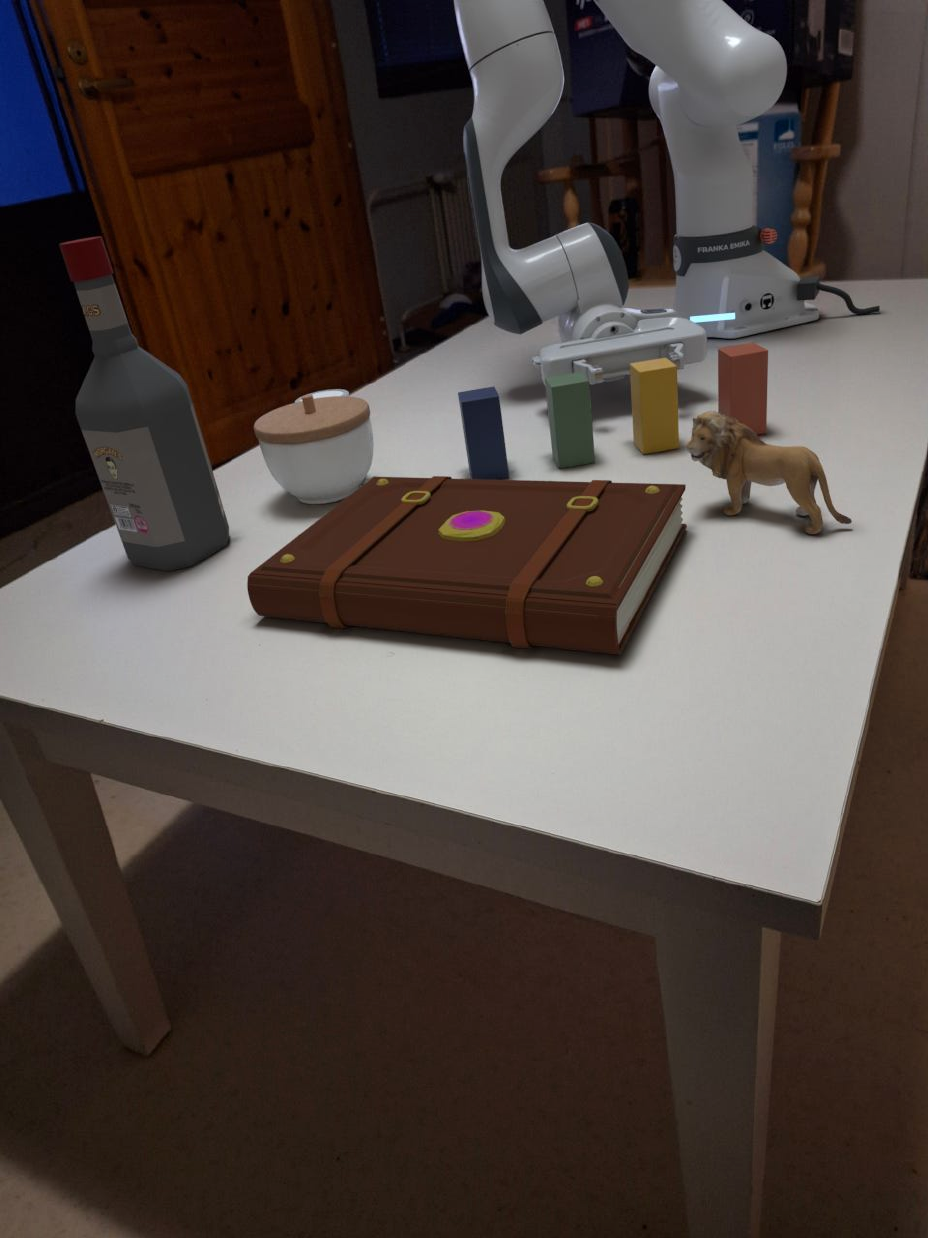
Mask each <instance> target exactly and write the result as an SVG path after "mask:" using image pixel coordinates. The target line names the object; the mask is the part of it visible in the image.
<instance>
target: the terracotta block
mask: <svg viewBox="0 0 928 1238" xmlns="http://www.w3.org/2000/svg"><path fill="white" fill-rule="evenodd" d="M768 372H769V350H768V349H767V348H765V347H764V346H761V345H759V344H758V343H756V342H748V343H742V344H736V345H730V346H724V347H718V348H717V384H718V385H717V407H718V409H717V410H718V411H717V413H724V415H728V416H730V417H733V418H735V419H737V420H738V422H739V423H741V424H745V425H746V426H747V427H749V428H750V429H752V430H753V431H754V432H755V433H756V434H757V436H758V435H763V434H764V435H765V434H767V425H768V424H767V420H768V417H767V416H768V382H769V381H768V380H769V379H768V377H769V375H768V374H769V373H768Z"/></svg>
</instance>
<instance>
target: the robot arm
mask: <svg viewBox="0 0 928 1238" xmlns="http://www.w3.org/2000/svg"><path fill="white" fill-rule="evenodd" d="M593 2H594V3H595V4H596V6H597V7H598V8H599V9H600V10H601V12H602V14H603V15H604V16H605V17H606V19H607V20H608V21H609V23H610V24H611V25H612V27H613V28H614V29H615V31H617V33H618V34H619V36H620V37H621V38H622V39H623V41H624V42H625V43H626V44H627V46H628V47H629V48H630V49H631V50H633V51H634V52H636V53H637V54H639V55H641V56H643V57H644V58H646V59H647V60H649V61H650V62H651V63H652V64H654V65H655V67H654V68H653V71H652V73H651V74H650V75H651V76H650V77H649V83H648V99H649V102H650V105H651V109H652V110H653V111H654V113H655V114H656V116H657V118H658V119H659V121H660V123H661V126H662V130H663V134H664V138H665V142H666V145H667V149H668V154H669V158H670V163H671V167H672V172H673V181H674V195H675V223H676V224H675V225H676V234H675V235H674V236H673V247H672V248H673V249H672V257H673V260H672V261H673V269H674V274H675V288H674V289H675V290H674V299H673V307H672V308H653V309H651V308H650V309H635V308H630V307H623V306H625V303H626V300H627V297H628V293H629V289H630V285H629V283H630V282H629V275H628V270H627V265H626V262H625V259H624V256H623V253H622V251H621V249H620V246H619V244H618V243H617V241H616V240H615V238H614V237H613V236H612V235H611V234H610V233H609V232H608V231H607V230H606V229H604V228H602V227H601V226H600V225H598V224H595V223H593V222H589V221H587V222H585V223H582V224H579V225H577V226H575V227H571V228H569V229H566V230H564V231H561V232H558V233H556V234H554V235H553V236H551V237H548V238H546V239H543V240H540V241H538V242H535V243H533V244H530V245H528V246H526V247H523V248H519V249H514V248H512V247H511V246H510V243H509V242H510V241H509V237H508V236H509V235H508V230H507V229H508V228H507V224H506V217H505V210H504V204H503V203H504V202H503V196H502V191H501V180H502V175H503V173H504V170H505V168H506V166H507V164H508V163H509V161H510V160H511V158H513V156H514V155H515V154H516V153H517V152H518V151H519V150H520V149H521V148H522V147H523V146H524V145H525V144H526V143H528V142H529V140H531V138H532V137H533V136H534V135H536V133H537V132H538V131H539V130H541V128H542V127H543V126H544V125H545V124H547V122H548V120H550V118H551V116H552V115H553V114H554V112H555V110H556V108H557V106H558V104H559V102H560V100H561V97H562V94H563V90H564V84H565V75H564V68H563V61H562V56H561V52H560V49H559V45H558V44H559V43H558V40H557V37H556V34H555V31H554V28H553V24H552V21H551V18H550V15H549V12H548V9H547V7H546V4H545V2H544V0H453V5H454V6H453V7H454V12H455V13H454V14H455V18H456V24H457V29H458V33H459V38H460V43H461V46H462V51H463V54H464V55H463V56H464V59H465V62H466V65H467V68H468V73H469V75H470V78H471V82H472V89H473V108H472V114H471V117H470V118H469V119H468V121H467V122H466V123H465V125H464V126H463V132H462V133H463V134H462V141H463V142H462V147H463V157H464V165H465V172H466V179H467V180H466V182H467V187H468V193H469V199H470V206H471V210H472V211H471V212H472V218H473V224H474V229H475V236H476V242H477V247H478V252H479V258H480V266H481V291H482V292H481V293H482V300H483V304H484V307H485V310H486V313H487V315H488V317H489V318H490V320H491V321H492V323H493V325H494V326H495V327H497V328H499V329H500V330H503V331H505V332H508V333H511V334H515V335H523V334H525V333H527V332H528V331H531V330H533V329H534V328H537V327H539V326H541V325H543V323H545V322H548V321H550V320H553V319H554V318H557V317H558V318H557V319H558V320H557V328H558V334H559V338H560V340H561V342H559V343H554V344H549V345H545V346H543V347H542V348H541V349H540V351H539V355H535V356H533V357H532V359H531V363H532V365H533V367H534V368H536V369H540V372H541V381H542V383H543V385H544V386H545V387H546V385H545V378H547V377H553V376H559V375H565V374H571V373H576V372H582V374H583V375H584V376H585V377H586V378H587V379H588V380H589V385H591V386H592V385H597V384H603V383H604V382H605V383H611V382H616V381H621V380H622V379H624V378H627V377H628V376H630V363H636V362H642V361H648V360H654V359H660V358H667V359H668V360H670V361H671V362H672V363H674V364H675V365H676V366H677V371H678V370H683V369H684V367H685V365H691V364H696V363H697V364H698V363H701V362H703V361H705V359H707V357H708V338H719V339H720V338H721V339H738V338H742V337H743V338H744V337H747V336H751V335H756V334H760V333H765V332H769V331H774V330H777V329H782V328H783V329H784V328H788V327H791V326H792V327H793V326H795V325H800V324H805V323H808V322H813V321H817V320H819V318H820V310H819V308H818V307H817V306H815V305H813V304H812V303H809V302H806V301H815V300H816V298H817V296H818V295H819V294H820V291H822V292H825V293H828V294H829V293H830V294H833V295H835V296H838V297H840V298H841V299H843V301H844V302H845V305H846V308H847V309H848V311H849V312H851V314H854V315H859V316H865V315H870V314H873V313H879V312H880V310H881V309H880V307H881V306H880V305H875V306H871V307H866V308H858V307H856V306H855V304H854V303H853V300H852V298H851V296H850V295H849V294H848V292H846V291H844V290H842V289H841V288H838V287H835V286H831V285H827V284H823V283H821V275H809V276H807V275H805V276H802V277H801V278H800V275H799V274H798V273H796V271H795V270H793V269H792V268H790V267H789V266H787V265H786V264H784V263H783V262H782V261H780V260H779V259H778V258H776V257H775V256H773V255H772V254H771V253H769V252H767V251H766V250H765V244H769V245H770V244H773V243H775V242H776V240H777V239H778V231H776V229H774V228H770V227H766V228H761V227H758V226H757V225H755V224H754V168H753V165H752V163H751V161H750V159H749V158H748V157H747V155H746V154H745V151H744V150H743V147H742V144H741V141H740V136H739V132H738V127H737V126H738V125H742V124H744V123H747V122H749V121H751V120H753V119H755V118H757V117H759V116H761V115H763V114H764V113H766V112H768V111H769V110H770V109H771V108H773V106H774V105H775V104H776V103H777V101H778V100H779V98H780V96H781V95H782V93H783V90H784V88H785V85H786V81H787V75H788V63H787V57H786V54H785V51H784V49H783V47H782V45H781V44H780V42H779V41H778V40H776V39H775V37H773V36H771V35H770V34H767V33H765V32H763V31H762V30H759V29H758V28H756V27H754V26H752V25H751V24H750V23H748V22H747V21H746V20H745V19H743V17H742V16H741V15H739V14H738V13H737V12H736V11H735V10H734V9H733V8H732V7H731V6H729V5H728V4H727V3H726V2H725V1H724V0H593Z"/></svg>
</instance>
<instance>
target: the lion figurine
mask: <svg viewBox="0 0 928 1238" xmlns="http://www.w3.org/2000/svg"><path fill="white" fill-rule="evenodd" d="M691 420H692V427H691V439H690V440H689V441H688V442H687V443H686V445H685V448H686V451H687V452H688V453H690V458H691V460H692V461H693V462H699V463H700V464H701V465H702V466H704V467H706V468H708V469H709V470H711V472H712V476H713V477H715V478H718V479H722V480H726V486H727V492H728V495H729V498H730V501H731V505H728V506H726V507H725V508H724V510H723V512H724V514H725V515H726V516H735V515H737V514H739V513H740V512H741V510H742V508H743V505H745V504H747V503H749V501H750V498H751V488H752V483H754V484H757V485H761V486H765V487H775V486H780V485H783V484H785V487H786V489H787V491H788V493H789V495H790V496H791V498H792V500H793V501H794V502H795V503H796V504H797V505H798V507H797V508H796V509H795V514H796V515H798V516H809V517H810V519H811V521H812V522H811V523H810V522H809V523H807V524H806V525H805V533H806V534H808V535H816V534H818V533H820V532H821V531H822V529H823V526H824V522H823V515H822V509H821V507H820V506H819V505H818V504H817V501H816V497H815V490H816V486H817V484H819V487H820V491H821V493H822V497H823V500H824V501H823V502H824V503H825V505H826V508H827V510H828V512H829V513H830V515H831V516H832V517H833V518H834V520H835V521H836V522H838V523H839V524H842V525H843V524H844V525H849V524H852V523H853V521H852V519H851V518H850V517H848V516H847V515H844V514H842V513H840V512H839V511H838V510H836V508H835V507H834V505H833V501H832V497H831V494H830V490H829V484H828V480H827V476H826V473H825V470H824V468H823V466H822V464H821V462H820V458H819V457H818V455H817V454H816V452H814V451H813V450H811V449H809V448H808V447H805V446H803V445H795V446H784V445H783V446H781V445H773V444H769V443H766V442H765V441H763V440H761V438H760V437H759V436H758V435H757V434H756V433H755V432H754V431H753V430H752V429H750V428H749V427H747V426H746V425H745V424H741V423H739V422H738V420H737V419H735V418H733V417H730V416H728V415H724V413H718V411H714V410H713V411H712V410H711V411H706V412H703V413H702V414H698V415H697V416H696V417H692V418H691Z"/></svg>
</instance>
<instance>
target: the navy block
mask: <svg viewBox="0 0 928 1238" xmlns="http://www.w3.org/2000/svg"><path fill="white" fill-rule="evenodd" d="M457 396H458V397H457V398H458V403H459V410H460V416H461V423H462V430H463V431H462V432H463V437H464V444H465V451H466V457H467V458H466V459H467V464H468V470H469V474H470V479H489V480H502V479H505V478H510V472H509V464H508V455H507V448H506V441H505V440H506V439H505V433H504V423H503V416H502V407H501V400H500V394H499V393H498V391H497V388H496V387H495V386H488V387H482V388H475V389H469V390H464V391H458V392H457Z"/></svg>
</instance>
